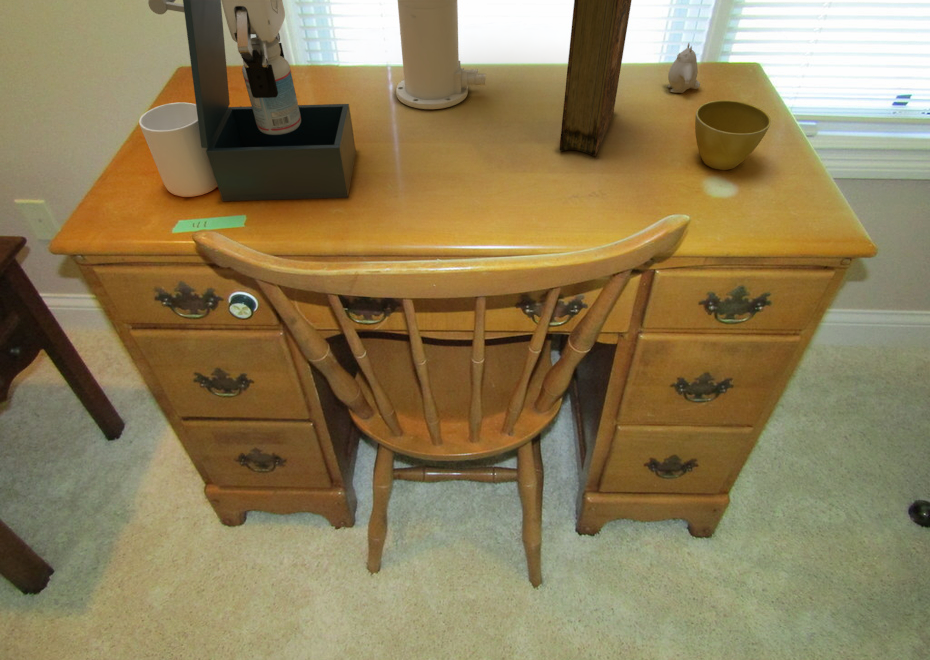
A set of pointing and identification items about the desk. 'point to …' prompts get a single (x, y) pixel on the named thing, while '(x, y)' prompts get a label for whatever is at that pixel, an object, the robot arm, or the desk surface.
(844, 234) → the desk surface
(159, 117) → the mug
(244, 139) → the chest
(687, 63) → the figurine
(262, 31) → the robot arm
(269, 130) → the pill bottle
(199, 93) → the lid
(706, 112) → the flower pot
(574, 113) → the book
